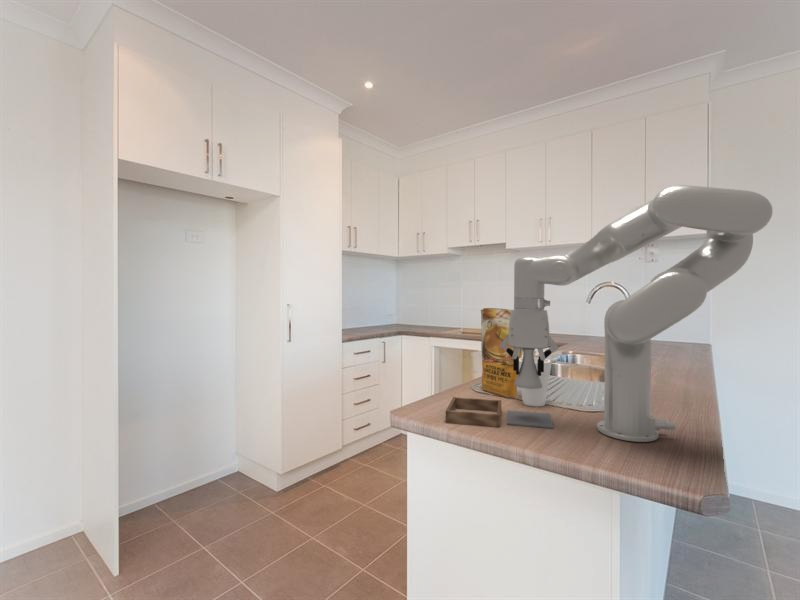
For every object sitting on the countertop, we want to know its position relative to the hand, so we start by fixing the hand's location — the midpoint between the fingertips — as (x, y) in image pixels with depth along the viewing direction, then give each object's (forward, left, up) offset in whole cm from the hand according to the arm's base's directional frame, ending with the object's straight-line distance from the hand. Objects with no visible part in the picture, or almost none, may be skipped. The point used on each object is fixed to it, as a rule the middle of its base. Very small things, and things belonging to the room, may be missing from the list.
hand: (528, 373), depth 103 cm
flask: (0, 0, -4) cm, 4 cm away
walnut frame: (+14, +1, -12) cm, 18 cm away
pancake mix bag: (+8, -26, -12) cm, 30 cm away
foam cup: (-2, -16, -12) cm, 20 cm away
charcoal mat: (0, 0, -12) cm, 12 cm away
